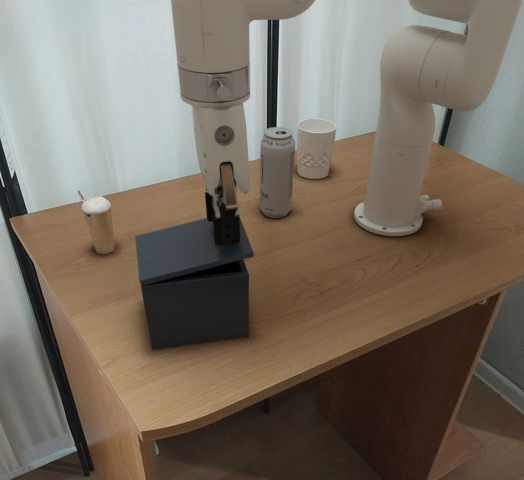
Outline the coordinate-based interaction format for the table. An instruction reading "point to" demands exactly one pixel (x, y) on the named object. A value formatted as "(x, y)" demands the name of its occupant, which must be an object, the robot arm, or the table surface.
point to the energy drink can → (276, 171)
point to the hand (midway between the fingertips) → (223, 229)
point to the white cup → (315, 147)
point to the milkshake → (99, 223)
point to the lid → (185, 250)
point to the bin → (198, 307)
